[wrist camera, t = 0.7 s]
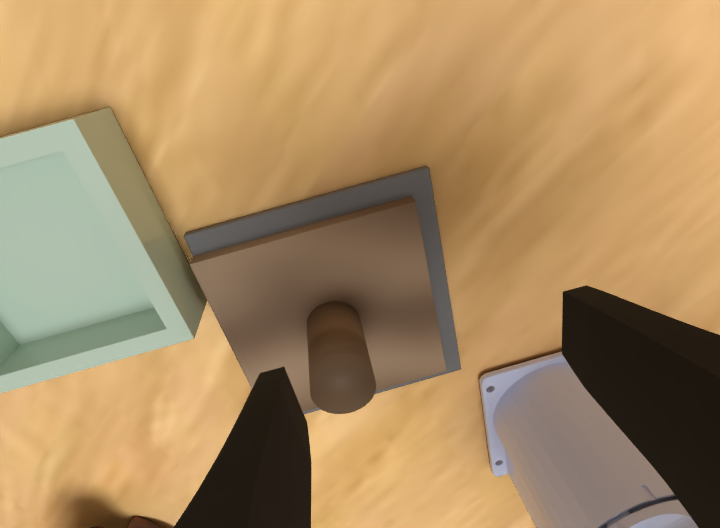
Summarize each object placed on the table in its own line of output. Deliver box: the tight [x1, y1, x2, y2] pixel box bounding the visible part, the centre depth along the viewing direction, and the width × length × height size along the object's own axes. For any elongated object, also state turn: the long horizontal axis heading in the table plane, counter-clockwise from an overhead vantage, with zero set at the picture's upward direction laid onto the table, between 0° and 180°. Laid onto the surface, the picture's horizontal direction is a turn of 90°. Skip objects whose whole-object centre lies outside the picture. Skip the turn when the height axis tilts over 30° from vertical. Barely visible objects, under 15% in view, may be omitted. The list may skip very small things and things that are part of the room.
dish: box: [0, 107, 207, 393], centre depth 16 cm, size 9×9×3 cm
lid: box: [190, 196, 446, 414], centre depth 19 cm, size 10×10×5 cm
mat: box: [184, 166, 461, 414], centre depth 21 cm, size 12×11×1 cm
